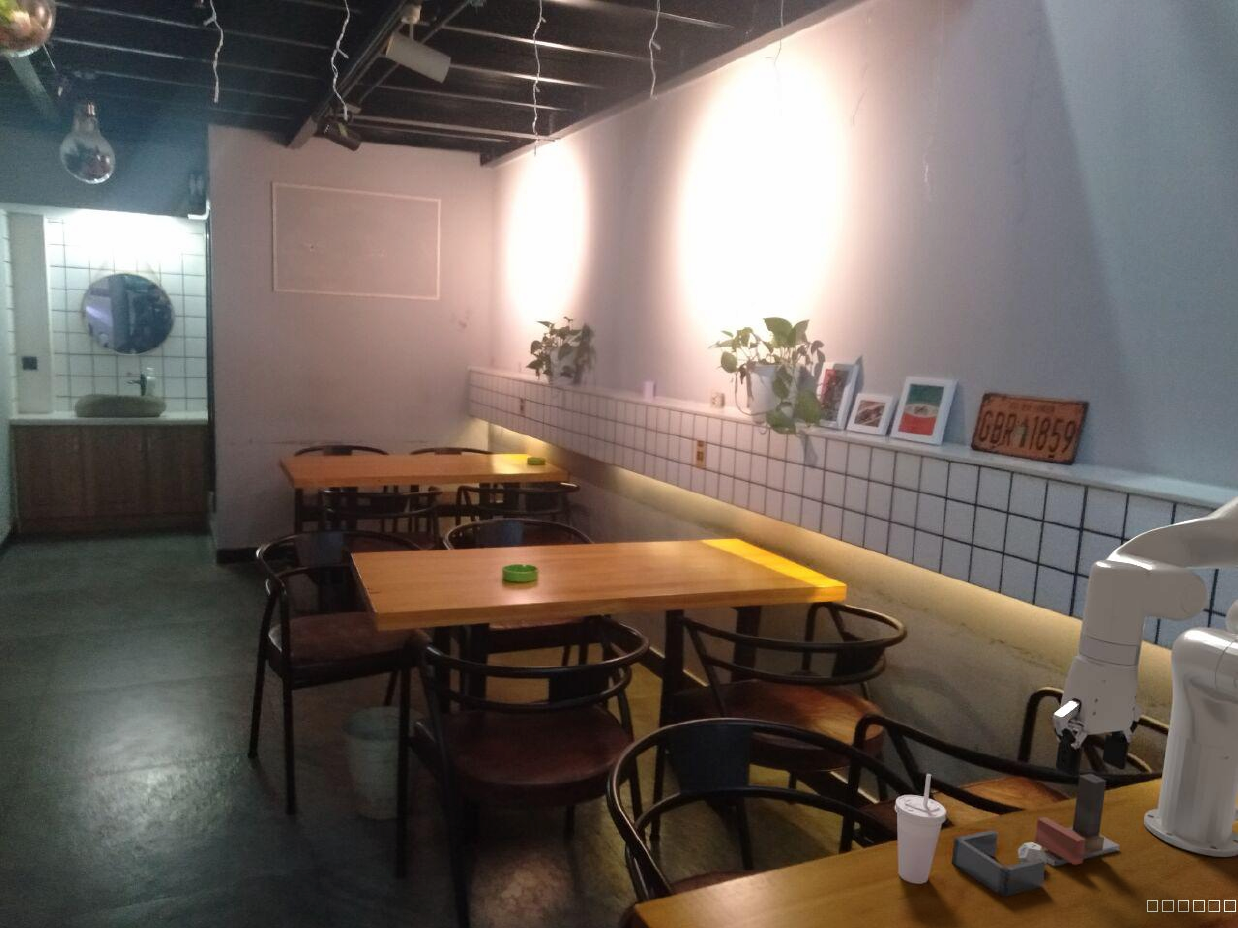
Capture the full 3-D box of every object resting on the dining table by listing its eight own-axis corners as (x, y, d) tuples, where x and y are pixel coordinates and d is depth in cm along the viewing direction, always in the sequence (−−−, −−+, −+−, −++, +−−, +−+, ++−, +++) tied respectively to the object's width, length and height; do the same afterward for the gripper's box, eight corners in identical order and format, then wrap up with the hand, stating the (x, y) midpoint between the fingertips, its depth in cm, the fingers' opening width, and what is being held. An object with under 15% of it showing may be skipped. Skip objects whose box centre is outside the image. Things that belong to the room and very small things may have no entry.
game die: (1011, 864, 125) (1014, 843, 125) (1025, 856, 128) (1027, 836, 127) (1036, 876, 123) (1039, 855, 122) (1050, 868, 125) (1052, 847, 125)
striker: (1071, 832, 133) (1080, 767, 132) (1111, 855, 127) (1120, 786, 126) (1034, 841, 130) (1043, 774, 129) (1074, 864, 124) (1083, 794, 123)
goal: (990, 853, 128) (993, 829, 127) (1042, 886, 120) (1045, 861, 120) (951, 862, 124) (954, 837, 124) (1002, 897, 117) (1005, 871, 116)
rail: (1103, 841, 133) (1104, 836, 133) (1118, 850, 131) (1119, 844, 131) (1038, 857, 127) (1039, 852, 127) (1053, 866, 125) (1054, 860, 125)
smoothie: (941, 893, 117) (953, 788, 115) (889, 884, 118) (901, 780, 116) (934, 867, 123) (946, 767, 121) (885, 858, 124) (896, 760, 123)
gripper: (1124, 639, 134) (1106, 752, 135) (1042, 644, 126) (1024, 763, 128) (1174, 656, 127) (1155, 774, 129) (1091, 662, 119) (1071, 787, 121)
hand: (1090, 768), depth 128 cm, fingers open, 9 cm apart
